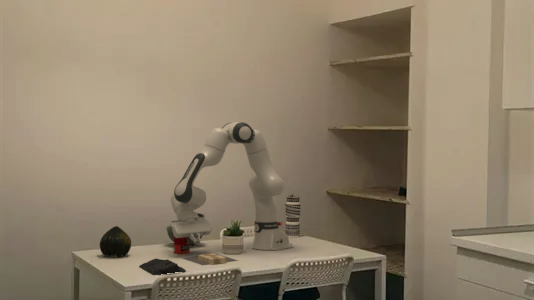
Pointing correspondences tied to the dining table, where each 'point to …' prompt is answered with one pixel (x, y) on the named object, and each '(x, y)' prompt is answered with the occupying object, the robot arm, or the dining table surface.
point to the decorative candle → (292, 215)
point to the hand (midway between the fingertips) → (197, 242)
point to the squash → (115, 242)
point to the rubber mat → (195, 260)
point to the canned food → (181, 245)
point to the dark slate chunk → (161, 267)
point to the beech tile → (212, 259)
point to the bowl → (171, 236)
